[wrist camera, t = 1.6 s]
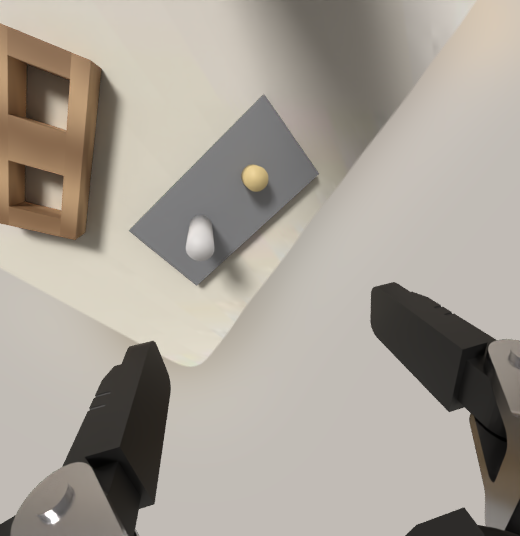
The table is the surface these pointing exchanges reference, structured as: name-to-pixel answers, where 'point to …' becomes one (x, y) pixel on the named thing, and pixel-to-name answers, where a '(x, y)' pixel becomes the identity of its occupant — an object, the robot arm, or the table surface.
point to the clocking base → (227, 194)
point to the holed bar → (45, 135)
